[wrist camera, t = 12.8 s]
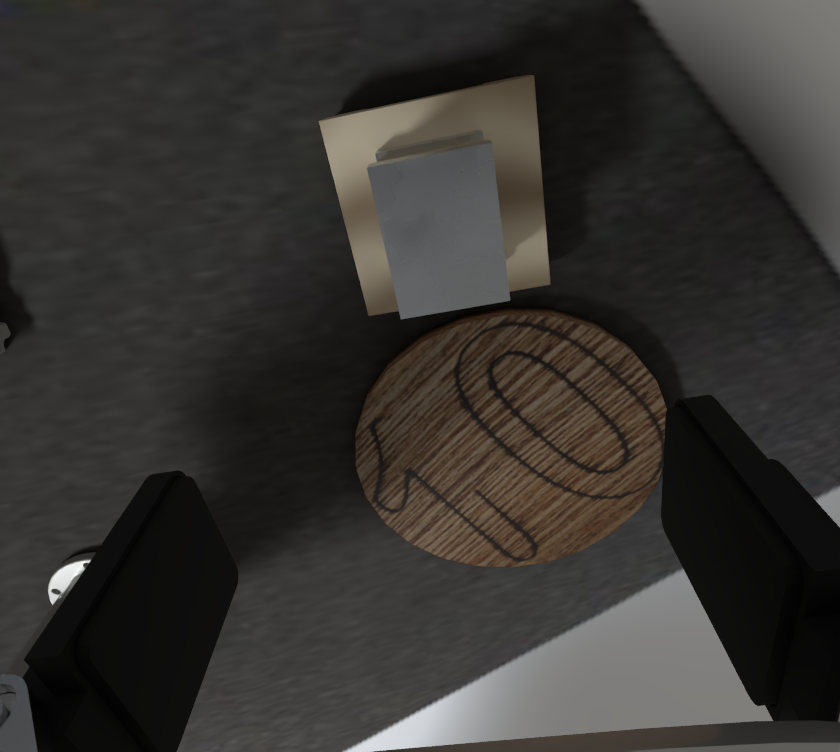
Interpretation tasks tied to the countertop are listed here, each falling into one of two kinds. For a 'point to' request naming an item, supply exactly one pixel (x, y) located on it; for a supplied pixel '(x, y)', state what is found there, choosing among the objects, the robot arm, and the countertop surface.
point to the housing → (441, 223)
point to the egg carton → (3, 335)
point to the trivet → (511, 437)
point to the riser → (429, 119)
